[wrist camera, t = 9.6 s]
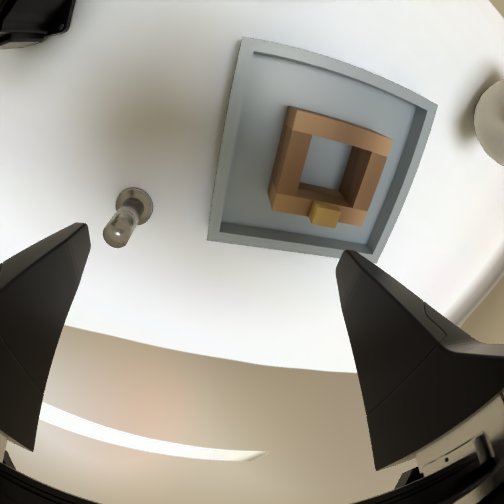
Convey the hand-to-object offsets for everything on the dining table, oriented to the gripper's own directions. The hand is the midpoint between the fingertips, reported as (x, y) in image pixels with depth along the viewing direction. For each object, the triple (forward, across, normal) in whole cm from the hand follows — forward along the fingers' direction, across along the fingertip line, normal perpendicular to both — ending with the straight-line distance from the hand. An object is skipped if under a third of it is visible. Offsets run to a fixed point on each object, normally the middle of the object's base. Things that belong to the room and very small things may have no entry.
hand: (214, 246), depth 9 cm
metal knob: (+12, +6, +5) cm, 14 cm away
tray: (+12, -7, -1) cm, 13 cm away
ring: (+11, -7, -1) cm, 13 cm away
